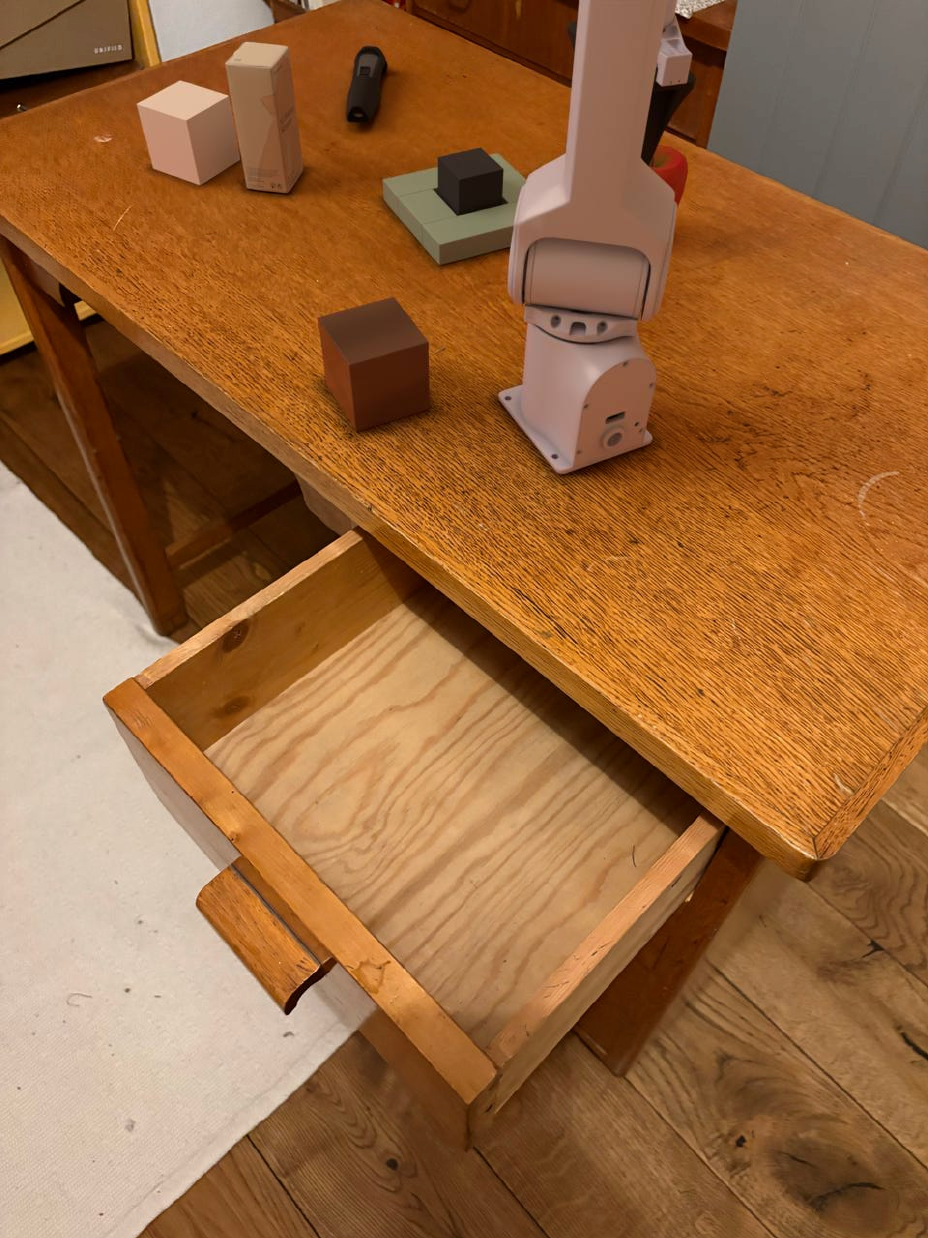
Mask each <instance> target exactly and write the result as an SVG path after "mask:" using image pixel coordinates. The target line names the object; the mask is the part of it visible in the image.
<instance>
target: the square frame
mask: <svg viewBox="0 0 928 1238" xmlns="http://www.w3.org/2000/svg"><path fill="white" fill-rule="evenodd" d="M489 155H490V156H491V157H492V158H493V159H494V160H495V161H496V162H497V163H498V164H499V165H500V166H501V167H502V168H503V169H504V174H503V193H502V205H501V206H497V207H493V208H489V209H485V210H481V211H477V212H473V213H469V214H464V215H460V216H457V215H456V214H455V213H454V212H453V211H452V210H451V209H450V208H449V207H448V206H447V204H446V203H445V202H444V201H443V200H442V199H441V198H440V197H439V196H438V166H435V167H431V168H426V169H422V170H418V171H417V170H416V171H413V172H409V173H405V174H400V175H396V176H392V177H387V178H382V195H383V197H382V198H383V201H384V202H385V204H387V206H388V207H389V208H390V210H391V211H393V213H394V214H395V215H396V217H398V219H399V220H400V221H401V222H402V224H404V226H405V227H406V228H407V229H408V231H409V232H410V233H411V234H412V235H413V236H414V238H416V240H417V241H418V242H419V243H420V244H421V246H422V247H423V248H424V250H425V251H426V252H428V254H429V255H430V256H431V257H432V258H433V260H434V261H435V262H436V263H437V264H438V266H442V265H446V264H450V263H454V262H457V261H461V260H465V259H470V258H472V257H473V258H474V257H477V256H481V255H483V254H487V253H492V252H496V251H500V250H503V249H507V248H511V242H512V235H513V229H514V219H515V213H516V208H517V204H518V199H519V196H520V192H521V189H522V186H523V185H525V184H526V181H527V178H525V177H524V176H523V175H522V174H521V172H519V171H518V170H517V169H516V168H515V167H514V166H512V165H511V164H510V163H509V162H508V161H507V160H506V159H505V158H504V157H503V156H502V155H501V154H499V152H496V153H492V154H489Z"/></svg>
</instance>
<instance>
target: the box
mask: <svg viewBox="0 0 928 1238" xmlns="http://www.w3.org/2000/svg"><path fill="white" fill-rule="evenodd" d="M225 69H226V76H227V82H228V87H229V95H230V101H231V104H232V105H231V106H232V113H233V118H234V124H235V130H236V136H237V142H238V148H239V153H240V159H241V164H242V169H243V175H244V180H245V181H244V182H245V186H246V189H248V190H255V191H261V192H262V191H263V192H271V193H272V192H273V193H281V194H288V193H290V191H291V190H292V188H293V187H294V185H296V182H297V181H298V179H299V178H300V176H301V175H302V173H303V172H304V163H303V156H302V155H303V154H302V147H301V137H300V129H299V122H298V114H297V105H296V97H295V87H294V81H293V71H292V65H291V57H290V47H289V46H287V45H282V44H273V43H265V42H262V43H261V42H255V41H245V42H243V43H242V44H241V45H240V46H239V47H238V48H237V49H236V50H235V51H234V52H233V54H232V55H231V56H230V57H229V59H228V60H226V62H225Z"/></svg>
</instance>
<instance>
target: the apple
mask: <svg viewBox="0 0 928 1238" xmlns="http://www.w3.org/2000/svg"><path fill="white" fill-rule="evenodd" d="M648 167H650V168H651V169H652V170H653V171H654V172H655V173H656V174H657V175H658V176H659V177H661V178H662V179H663V180H664V181H665V182H666V183H667V184H668V185H669V186H670V187H671V188H672V189H673V191H674V192H675V198H674V201H675V202H676V203H677V208H678V207H679V205H680V202H681V200H682V198H683V194H684V192H685V187H686V184H687V178H688V175H689V164H688V160H687V157H686V155H684V154H683V153H682V152H681V151H680V150H678V149H676V148H675V147H672V146H668V145H663V144H658V146H657V149H656V151H655V153H654V156H653V158H652V160H651V162H650V164H649V166H648Z"/></svg>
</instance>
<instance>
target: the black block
mask: <svg viewBox="0 0 928 1238" xmlns="http://www.w3.org/2000/svg"><path fill="white" fill-rule="evenodd" d="M490 155H491V154H489V153H487V152H486V150H484V148H482V147H476V148H472V149H468V150H463V151H459V152H454V153H449V154H445V155H441V156H437V167H438V196H439V197H440V198H441V199H442V200H443V201H444V202H445V203H446V204H447V206H448V207H449V208H450V209H451V210H452V211H453V212H454V213H455V214H456V215H457V216H460V215H464V214H469V213H473V212H477V211H481V210H485V209H489V208H493V207H497V206H501V205H502V193H503V174H504V169H503V168H502V167H501V166H500V165H499V164H498V163H497V162H496V161H495V160H494V159H493V158H492V157H491V156H490Z"/></svg>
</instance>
